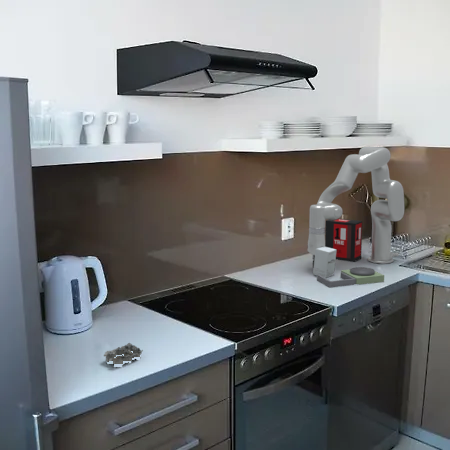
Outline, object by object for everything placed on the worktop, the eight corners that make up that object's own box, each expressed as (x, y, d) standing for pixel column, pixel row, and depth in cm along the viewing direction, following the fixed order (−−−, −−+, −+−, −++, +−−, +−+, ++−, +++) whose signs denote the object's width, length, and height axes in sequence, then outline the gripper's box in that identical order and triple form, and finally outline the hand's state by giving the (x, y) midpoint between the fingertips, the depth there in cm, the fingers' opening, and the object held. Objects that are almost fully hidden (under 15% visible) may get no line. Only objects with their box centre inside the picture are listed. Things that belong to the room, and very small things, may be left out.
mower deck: (367, 273, 263) (367, 265, 262) (384, 281, 250) (384, 272, 249) (315, 279, 255) (315, 270, 254) (330, 287, 242) (330, 278, 241)
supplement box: (325, 278, 256) (328, 252, 253) (312, 274, 261) (314, 248, 258) (334, 275, 261) (337, 249, 258) (321, 271, 266) (323, 245, 263)
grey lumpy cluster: (116, 370, 165) (115, 357, 164) (102, 363, 170) (101, 350, 169) (145, 359, 172) (144, 346, 171) (130, 352, 177) (130, 340, 176)
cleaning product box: (361, 258, 292) (362, 221, 288) (354, 262, 285) (355, 223, 281) (332, 254, 301) (333, 218, 298) (324, 257, 294) (325, 220, 291)
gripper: (303, 228, 270) (302, 265, 273) (317, 234, 256) (316, 272, 259) (317, 227, 272) (316, 263, 275) (331, 233, 258) (330, 271, 261)
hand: (316, 268), depth 267 cm, fingers closed
